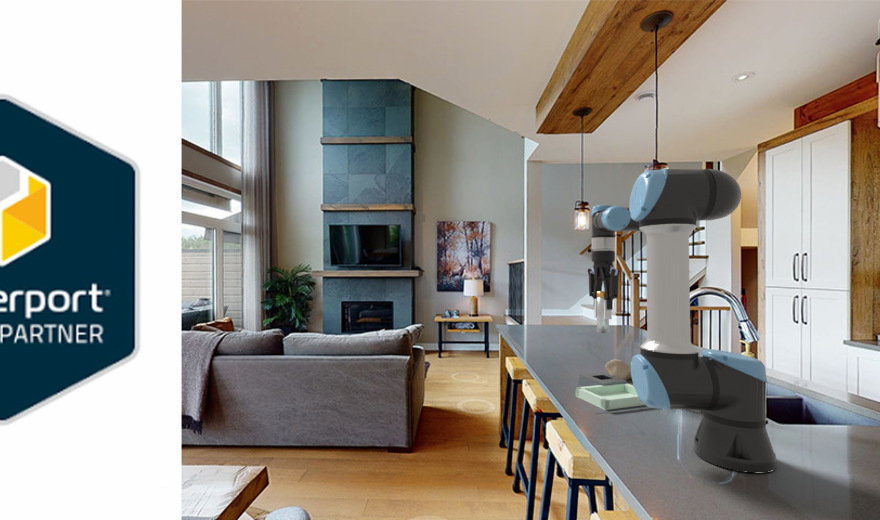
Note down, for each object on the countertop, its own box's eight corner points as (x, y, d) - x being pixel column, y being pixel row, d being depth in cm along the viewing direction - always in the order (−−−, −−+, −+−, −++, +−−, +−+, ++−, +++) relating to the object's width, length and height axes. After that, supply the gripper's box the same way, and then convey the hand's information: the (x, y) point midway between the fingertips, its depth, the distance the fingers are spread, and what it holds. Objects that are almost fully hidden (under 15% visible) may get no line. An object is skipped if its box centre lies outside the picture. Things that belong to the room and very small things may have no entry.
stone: (624, 379, 163) (638, 361, 159) (628, 392, 158) (643, 374, 153) (599, 370, 163) (612, 351, 158) (602, 383, 157) (616, 364, 152)
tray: (624, 392, 143) (624, 382, 143) (657, 404, 130) (657, 394, 130) (575, 397, 137) (575, 387, 137) (604, 411, 124) (604, 400, 124)
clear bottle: (611, 332, 145) (612, 291, 145) (602, 333, 144) (602, 291, 144) (603, 330, 149) (603, 290, 149) (593, 331, 147) (594, 291, 148)
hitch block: (626, 392, 142) (626, 380, 142) (602, 395, 139) (602, 383, 139) (602, 383, 154) (602, 372, 154) (579, 385, 150) (579, 374, 150)
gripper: (630, 249, 140) (630, 321, 139) (595, 251, 156) (595, 315, 155) (611, 249, 137) (611, 321, 137) (578, 250, 153) (578, 315, 153)
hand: (602, 318), depth 146 cm, fingers closed on clear bottle, 4 cm apart
